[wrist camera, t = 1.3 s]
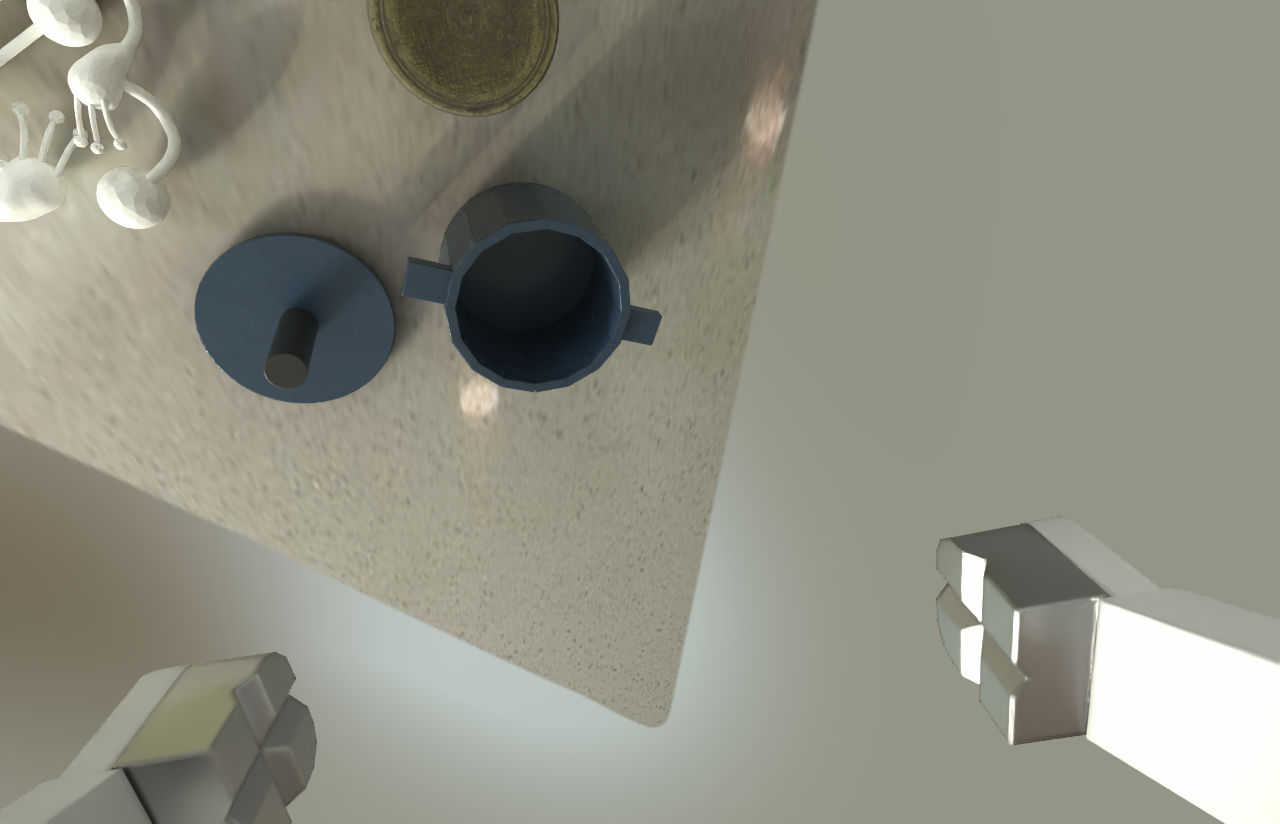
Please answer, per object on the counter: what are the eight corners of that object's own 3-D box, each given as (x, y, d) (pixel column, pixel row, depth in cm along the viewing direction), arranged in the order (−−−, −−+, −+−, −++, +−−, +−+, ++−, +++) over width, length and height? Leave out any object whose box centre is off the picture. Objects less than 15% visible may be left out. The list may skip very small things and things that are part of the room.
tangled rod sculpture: (-182, -184, 37) (-252, -204, 33) (142, -132, 40) (110, -145, 36) (-56, 205, 46) (-101, 222, 42) (199, 222, 49) (178, 239, 46)
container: (544, 24, 49) (605, 52, 34) (435, 102, 50) (449, 162, 35) (460, -120, 44) (490, -159, 29) (340, -31, 45) (310, -27, 30)
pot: (420, 151, 51) (423, 185, 43) (650, 214, 58) (689, 254, 50) (389, 312, 56) (387, 369, 49) (604, 353, 63) (633, 408, 55)
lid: (203, 209, 49) (171, 250, 42) (409, 254, 55) (410, 298, 47) (192, 381, 55) (161, 443, 48) (379, 408, 60) (376, 467, 53)
